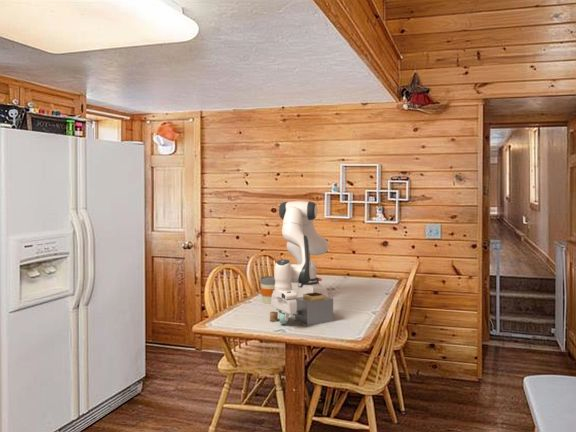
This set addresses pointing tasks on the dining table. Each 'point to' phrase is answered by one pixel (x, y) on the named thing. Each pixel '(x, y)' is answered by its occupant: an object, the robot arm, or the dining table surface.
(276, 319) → the bead walnut
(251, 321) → the dining table surface
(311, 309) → the box
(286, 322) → the bead teal
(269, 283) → the reusable coffee cup
